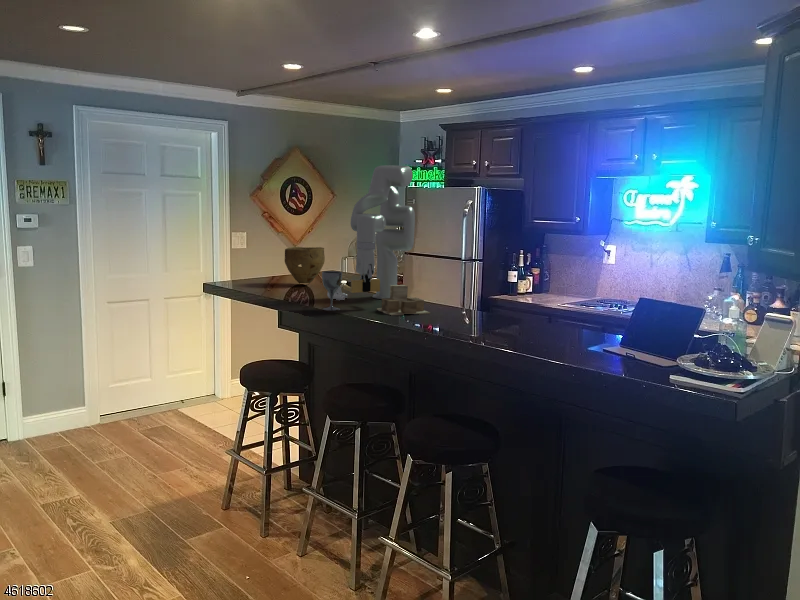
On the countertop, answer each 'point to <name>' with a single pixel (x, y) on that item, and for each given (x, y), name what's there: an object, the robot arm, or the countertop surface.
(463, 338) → the countertop surface
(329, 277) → the wine glass
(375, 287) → the tan wooden block
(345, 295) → the seated beast figurine
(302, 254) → the bowl
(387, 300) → the stepped wooden block
